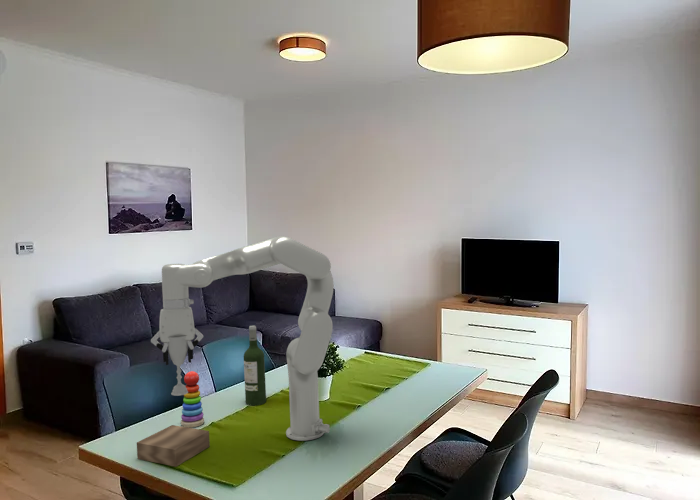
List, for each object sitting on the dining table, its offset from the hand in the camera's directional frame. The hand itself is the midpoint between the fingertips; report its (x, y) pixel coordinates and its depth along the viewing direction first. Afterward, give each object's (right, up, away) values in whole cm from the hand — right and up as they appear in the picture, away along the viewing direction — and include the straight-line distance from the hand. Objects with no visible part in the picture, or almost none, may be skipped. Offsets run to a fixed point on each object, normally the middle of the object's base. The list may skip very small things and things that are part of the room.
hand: (178, 362), depth 168 cm
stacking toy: (-3, -27, +25) cm, 37 cm away
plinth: (-2, -28, +1) cm, 28 cm away
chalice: (0, -10, 0) cm, 10 cm away
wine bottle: (+16, -25, +46) cm, 55 cm away
